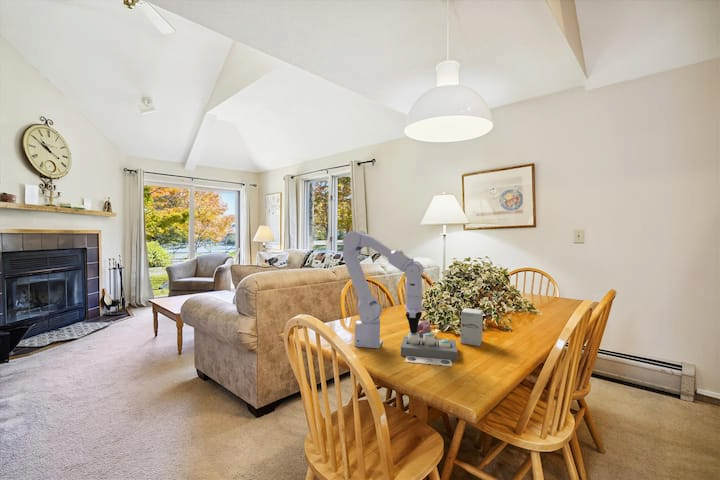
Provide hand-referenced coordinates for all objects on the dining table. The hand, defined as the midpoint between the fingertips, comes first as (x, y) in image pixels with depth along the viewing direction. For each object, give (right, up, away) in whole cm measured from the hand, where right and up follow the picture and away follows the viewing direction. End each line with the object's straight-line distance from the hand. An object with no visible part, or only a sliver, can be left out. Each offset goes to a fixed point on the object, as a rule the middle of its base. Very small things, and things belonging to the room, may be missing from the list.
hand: (413, 332), depth 120 cm
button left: (0, -4, 0) cm, 4 cm away
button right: (+11, -7, -2) cm, 13 cm away
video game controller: (+7, -7, +18) cm, 20 cm away
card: (+3, -7, -10) cm, 12 cm away
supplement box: (+24, -7, +9) cm, 27 cm away
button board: (+5, -7, -1) cm, 9 cm away
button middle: (+5, -5, -1) cm, 7 cm away
